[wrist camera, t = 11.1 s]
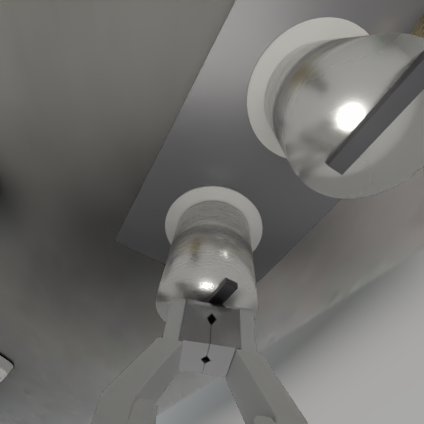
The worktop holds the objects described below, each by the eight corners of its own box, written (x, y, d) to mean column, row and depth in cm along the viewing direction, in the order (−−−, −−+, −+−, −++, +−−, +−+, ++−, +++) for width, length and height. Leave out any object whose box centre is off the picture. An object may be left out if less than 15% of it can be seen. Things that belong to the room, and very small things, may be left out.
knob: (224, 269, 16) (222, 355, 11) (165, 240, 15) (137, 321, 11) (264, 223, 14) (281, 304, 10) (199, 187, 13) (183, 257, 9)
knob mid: (316, 161, 12) (366, 225, 8) (244, 115, 11) (255, 156, 7) (387, 79, 10) (505, 102, 6) (308, 15, 10) (379, -15, 5)
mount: (238, 259, 21) (240, 302, 18) (134, 207, 19) (112, 243, 16) (599, -150, 10) (811, -264, 6) (438, -385, 8) (616, -754, 4)
